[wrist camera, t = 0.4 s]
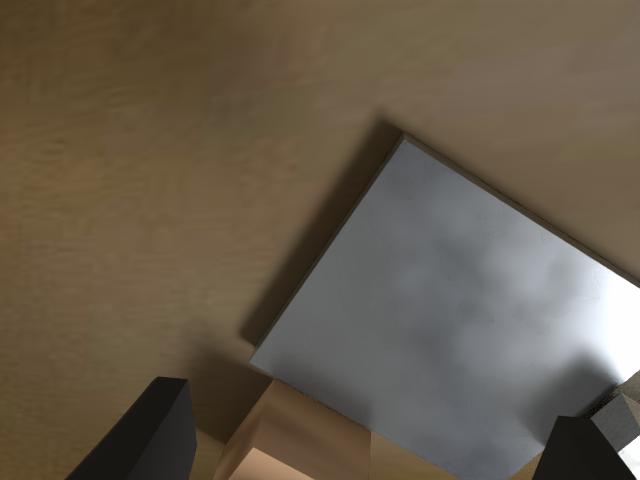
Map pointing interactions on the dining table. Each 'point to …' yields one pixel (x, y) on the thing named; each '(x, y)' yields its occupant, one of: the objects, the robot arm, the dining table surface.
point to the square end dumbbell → (622, 429)
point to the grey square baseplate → (454, 320)
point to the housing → (295, 442)
